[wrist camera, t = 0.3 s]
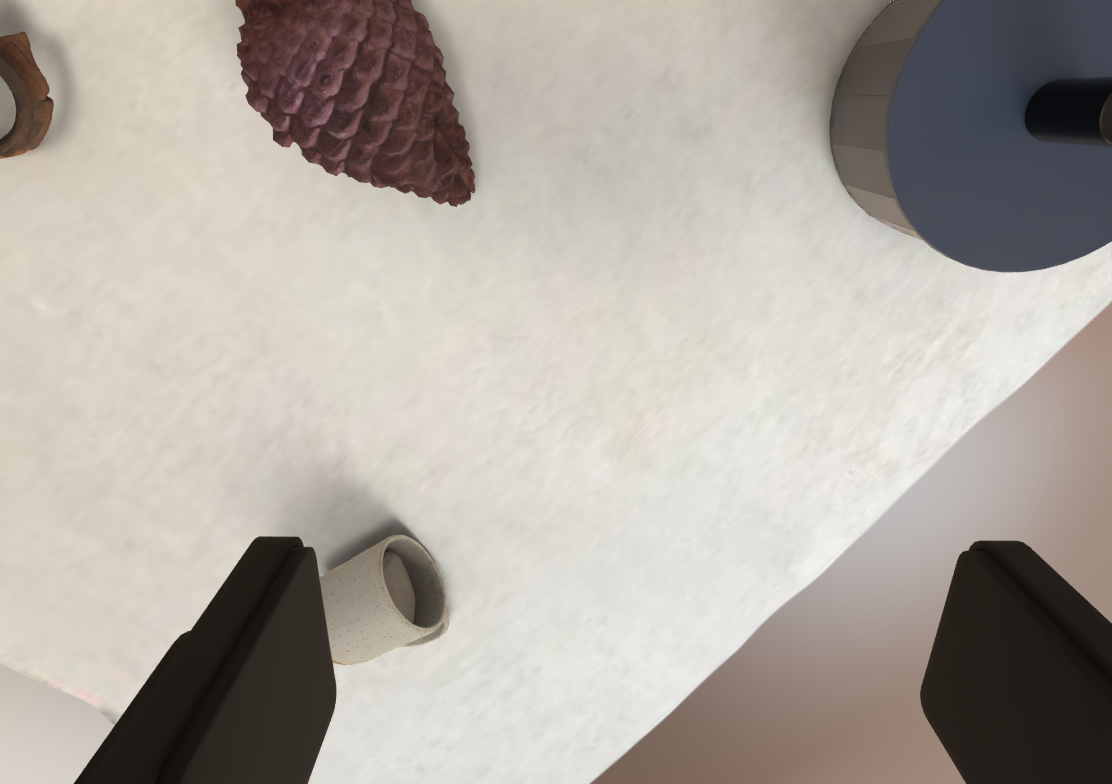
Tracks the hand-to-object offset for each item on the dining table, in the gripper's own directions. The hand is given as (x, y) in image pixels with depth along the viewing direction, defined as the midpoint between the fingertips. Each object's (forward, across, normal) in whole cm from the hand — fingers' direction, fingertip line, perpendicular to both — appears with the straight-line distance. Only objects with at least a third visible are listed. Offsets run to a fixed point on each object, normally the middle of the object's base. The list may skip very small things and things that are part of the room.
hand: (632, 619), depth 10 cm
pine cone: (+37, +12, -8) cm, 40 cm away
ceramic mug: (+37, +14, +28) cm, 48 cm away
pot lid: (+28, -23, -7) cm, 37 cm away
